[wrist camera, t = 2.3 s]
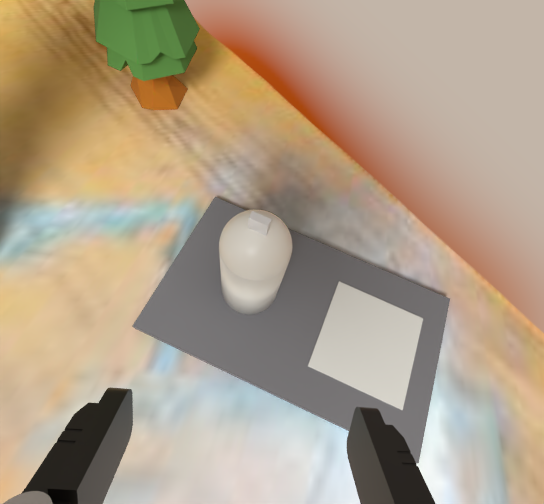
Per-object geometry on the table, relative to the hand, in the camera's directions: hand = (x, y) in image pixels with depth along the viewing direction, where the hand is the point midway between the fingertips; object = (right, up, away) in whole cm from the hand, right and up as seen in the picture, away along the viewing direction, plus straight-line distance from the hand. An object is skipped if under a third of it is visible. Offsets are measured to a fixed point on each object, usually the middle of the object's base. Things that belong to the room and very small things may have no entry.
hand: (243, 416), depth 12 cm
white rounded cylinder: (-1, +3, +17) cm, 18 cm away
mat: (+4, +1, +17) cm, 18 cm away
